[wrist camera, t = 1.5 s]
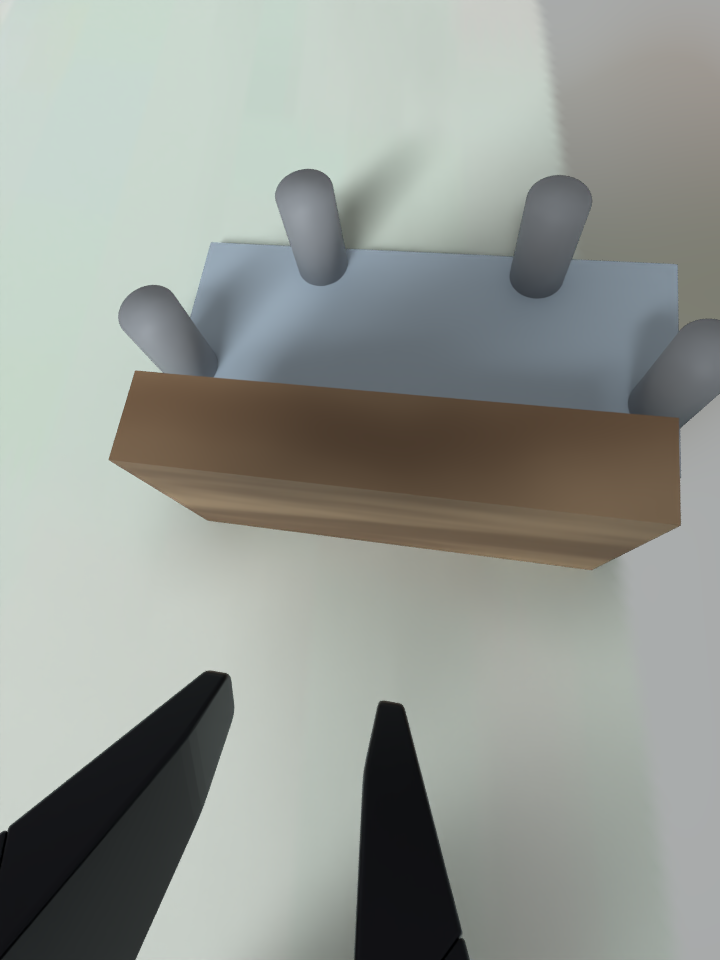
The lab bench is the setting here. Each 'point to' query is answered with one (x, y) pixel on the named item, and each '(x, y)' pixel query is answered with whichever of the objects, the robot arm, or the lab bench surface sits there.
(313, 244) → the peg plate
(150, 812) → the robot arm
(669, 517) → the shelf board
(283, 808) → the lab bench surface
